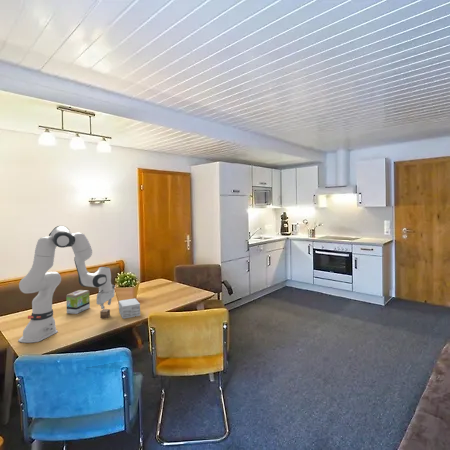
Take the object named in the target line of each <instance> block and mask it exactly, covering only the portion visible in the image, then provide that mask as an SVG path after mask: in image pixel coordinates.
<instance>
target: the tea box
mask: <svg viewBox="0 0 450 450" xmlns="http://www.w3.org/2000/svg"><path fill="white" fill-rule="evenodd" d="M65 298H66V314H76V315H77V314H80V313H81V312H84V311H86V310H89V309H90V301H91V300H90V298H91V297H90V290H84V289H78V290H74V291H73V292H70V293H68V294H66V297H65Z"/></svg>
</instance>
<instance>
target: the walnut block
mask: <svg viewBox="0 0 450 450" xmlns="http://www.w3.org/2000/svg"><path fill="white" fill-rule="evenodd" d="M99 314H100V315H99V317H100V319H108V318H109V317H110V316H111V309H109V308H108V309H107V308H104V309H101V311H99Z"/></svg>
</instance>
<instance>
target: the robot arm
mask: <svg viewBox="0 0 450 450" xmlns="http://www.w3.org/2000/svg"><path fill="white" fill-rule="evenodd" d="M35 245H36V246H35V250H34V256H33V261H32V265H31V268H30V269H29V271H28V273H27V274H26V275H25V276H24V277H22V278H21V280H20V281H19V282H18V283H19V284H18V288H19V290H20V292H21V293H23V294H34V293H37V295H35V297H34V298H32V301H31V309H32V312H31V314H30V315H27V319H28V320H29V322H28V323H27V325H26V326H25V327H24V329H23V331H22V336H21V337H20V338H19V339H18V343H24V344H26V343H38V342H41V341H44V340H45V339H47V338H49V337H51V336H53V335H55V334H56V333H59V332H58V330H57V326H56V321H55V318H54V308H53V297H54V292H55V291H56V289H57V287H58V286H59V285H60V284H61V282H62V276H61V274H60V273H59V272H57V271H49V270H51V268H52V267H53V266H54V262H55V254H56V249H57V247H58V248H69V247H71V249H72V252H73V254H74V257H73V258H74V259H73V261H74V264H75V265H74V266H75V268H76V271H77V276H78V283H79V285H80V286H81V287H83V288H84V287H86V288H87V287H88V288H90V287H91V288H98V293H97V295H96V304H97V306H98V305H99V306H100V308H101V310H103V309H105V305H104V304H105V303H106V302H107V306H110V305H111V304H112V299H113V298H114V297H115V295H116V294H115V292H116V291H115V287H116V286H115V285H114V284H112V272H111V268H110V267H108V266H100V267H98V269H97V271H95V272H92V273H91V272H89V271H88V269H87V267H86V261H87V260H89V259H90V258H91V257H92V256H93V249H92V248H93V247H92V246H91V244H90V242H89V239H88V238H87V236H86V235H85V233H82V232H75V233H72V232H71V231H70V229H69V228H68V227H67V226H65V225H57V226H56V227H54V228H53V229H52V230H51V232H50V233H49V234H48V236H42V237H39V239H37V241H36V244H35Z"/></svg>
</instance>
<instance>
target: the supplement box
mask: <svg viewBox="0 0 450 450" xmlns="http://www.w3.org/2000/svg"><path fill="white" fill-rule="evenodd" d="M118 312H119V315H120V316H121V318H122V319H130V318H135V316H136V317H141V303H140V302H139V301H138V299H137V298H135V297H134V298H129V299H122V300H118Z"/></svg>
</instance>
